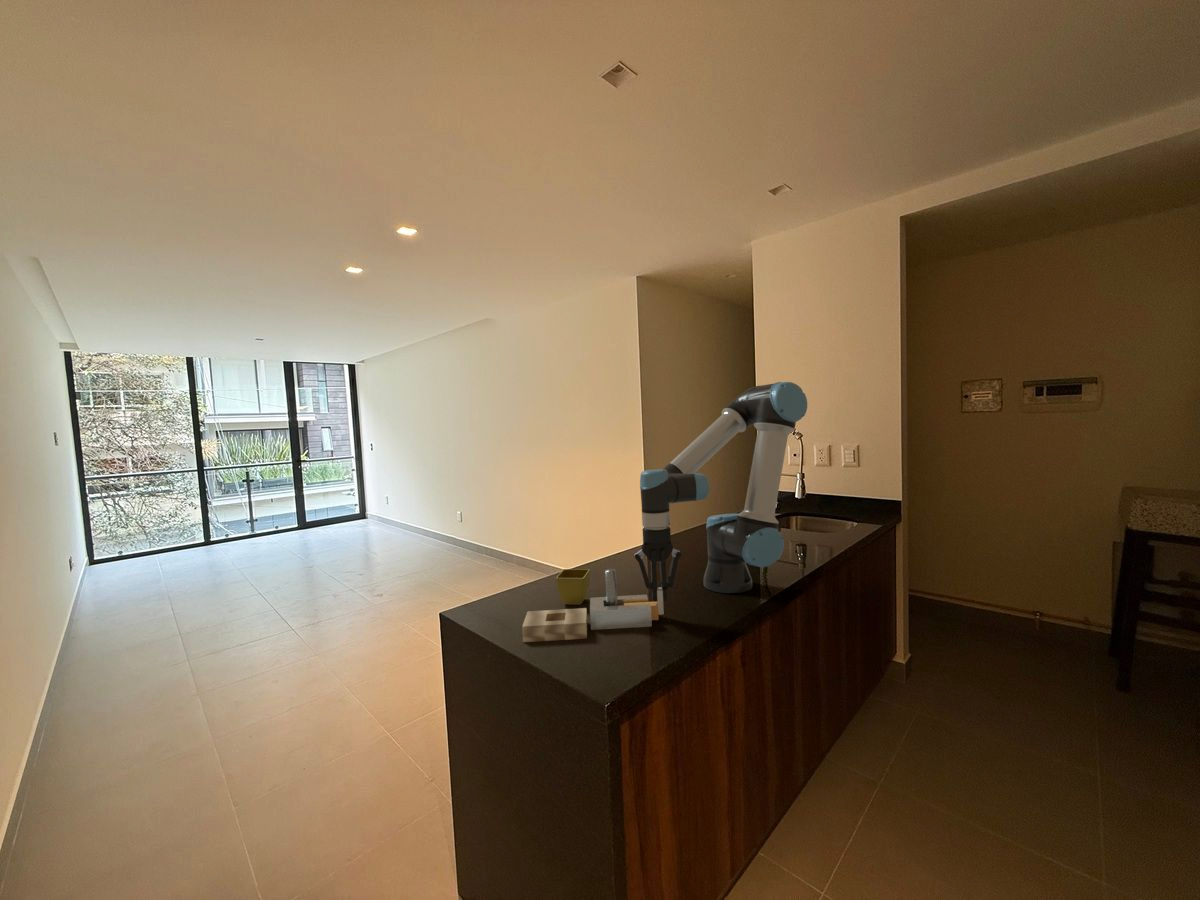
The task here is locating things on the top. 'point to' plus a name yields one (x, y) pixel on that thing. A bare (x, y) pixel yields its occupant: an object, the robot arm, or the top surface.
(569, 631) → the rack block
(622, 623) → the socket block
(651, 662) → the top surface
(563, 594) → the flower pot
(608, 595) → the drill peg
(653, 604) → the drift key
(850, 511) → the top surface
